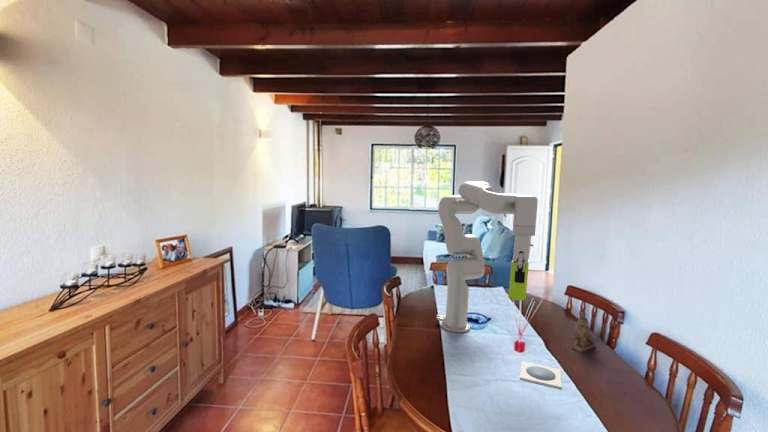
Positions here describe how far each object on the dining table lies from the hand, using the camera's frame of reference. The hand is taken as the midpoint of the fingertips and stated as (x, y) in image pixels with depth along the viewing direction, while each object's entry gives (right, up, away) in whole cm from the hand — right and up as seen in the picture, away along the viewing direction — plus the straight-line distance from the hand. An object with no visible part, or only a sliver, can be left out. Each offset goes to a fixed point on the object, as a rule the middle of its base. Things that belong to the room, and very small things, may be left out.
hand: (520, 280), depth 137 cm
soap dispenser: (0, -7, +1) cm, 7 cm away
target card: (+6, -33, -3) cm, 33 cm away
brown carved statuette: (+34, -32, +22) cm, 52 cm away
